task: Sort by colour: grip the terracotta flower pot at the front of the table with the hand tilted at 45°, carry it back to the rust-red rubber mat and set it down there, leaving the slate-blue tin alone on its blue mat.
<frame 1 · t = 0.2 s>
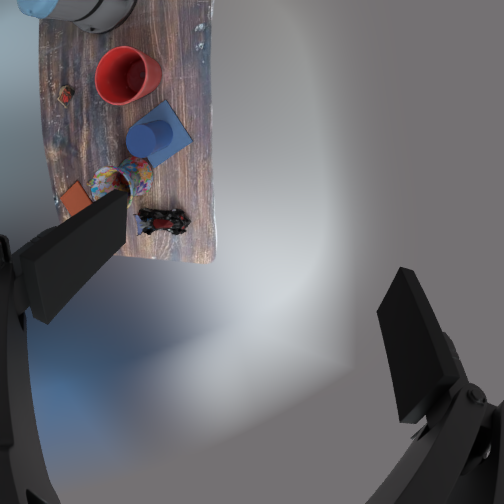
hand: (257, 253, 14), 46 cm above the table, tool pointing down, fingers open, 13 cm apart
blue tin: (159, 134, 57), resting on blue mat
toy car: (165, 219, 66), on the table
rust mat: (77, 202, 68), on the table
blue mat: (159, 134, 58), on the table
flower pot: (145, 75, 52), on the table
mug: (131, 174, 63), on the table
matchbox: (66, 95, 55), on the table
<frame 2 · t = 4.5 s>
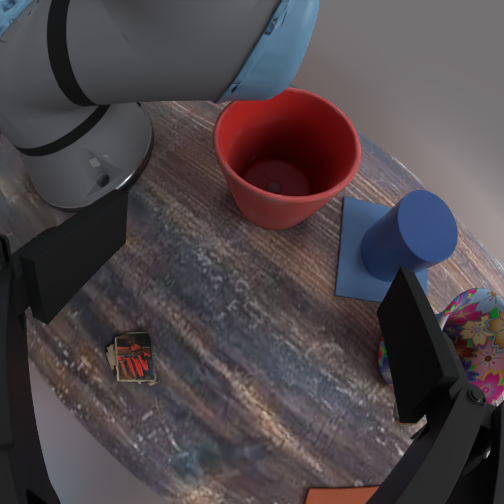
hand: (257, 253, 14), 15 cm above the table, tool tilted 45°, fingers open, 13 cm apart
blue tin: (387, 252, 30), resting on blue mat
blue mat: (385, 253, 30), on the table
flower pot: (274, 193, 31), on the table
mug: (401, 362, 27), on the table
matchbox: (132, 358, 26), on the table
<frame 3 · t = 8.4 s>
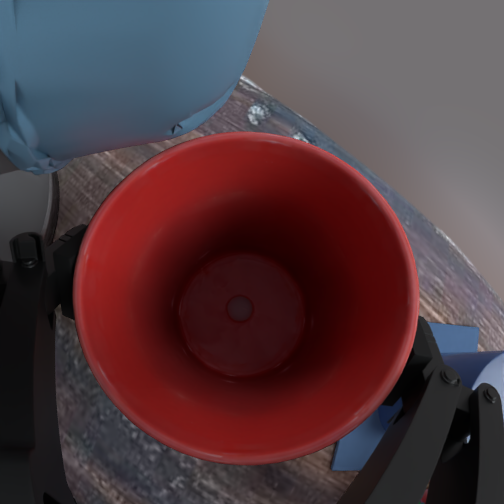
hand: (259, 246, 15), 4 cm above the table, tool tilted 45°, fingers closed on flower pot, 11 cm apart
blue tin: (418, 397, 17), resting on blue mat
blue mat: (415, 397, 17), on the table
flower pot: (241, 313, 18), on the table, touching gripper
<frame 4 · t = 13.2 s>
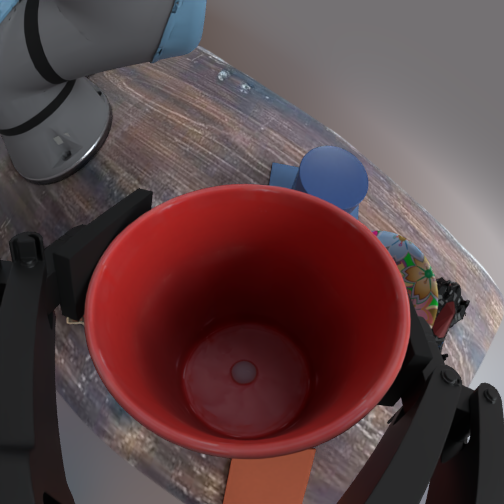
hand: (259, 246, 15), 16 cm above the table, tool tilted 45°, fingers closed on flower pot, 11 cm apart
blue tin: (313, 211, 33), resting on blue mat
toy car: (429, 324, 31), on the table
rust mat: (268, 478, 26), on the table
blue mat: (312, 213, 33), on the table
flower pot: (245, 380, 17), point 12 cm above the table, touching gripper
mug: (329, 318, 31), on the table
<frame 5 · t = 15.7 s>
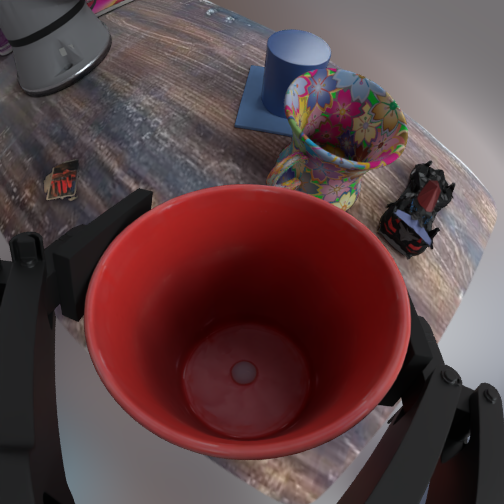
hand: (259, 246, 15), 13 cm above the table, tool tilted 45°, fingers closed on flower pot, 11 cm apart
blue tin: (288, 99, 32), resting on blue mat
toy car: (416, 207, 30), on the table
blue mat: (287, 101, 33), on the table
smartphone: (85, 13, 37), on the table
flower pot: (246, 381, 17), point 8 cm above the table, touching gripper
mug: (306, 187, 30), on the table
matchbox: (62, 182, 29), on the table
pill bottle: (12, 47, 36), on the table
when the fingers open (6 cm above the table, at t = 18.0 s): flower pot drops 2 cm, resting on rust mat.
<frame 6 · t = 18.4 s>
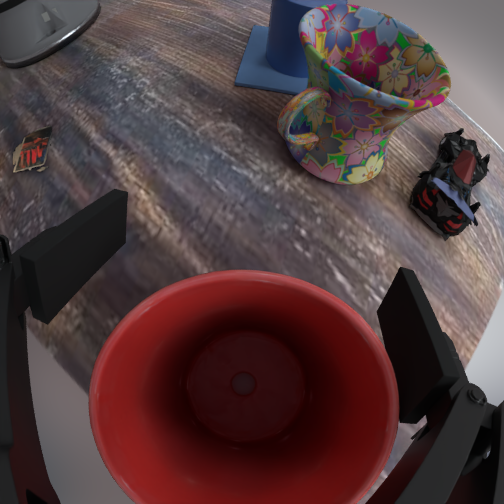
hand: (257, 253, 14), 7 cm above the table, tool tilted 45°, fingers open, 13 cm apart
blue tin: (296, 58, 26), resting on blue mat
toy car: (448, 181, 24), on the table
blue mat: (296, 61, 27), on the table
flower pot: (245, 384, 19), resting on rust mat, touching gripper
mug: (322, 152, 24), on the table
matchbox: (33, 152, 23), on the table
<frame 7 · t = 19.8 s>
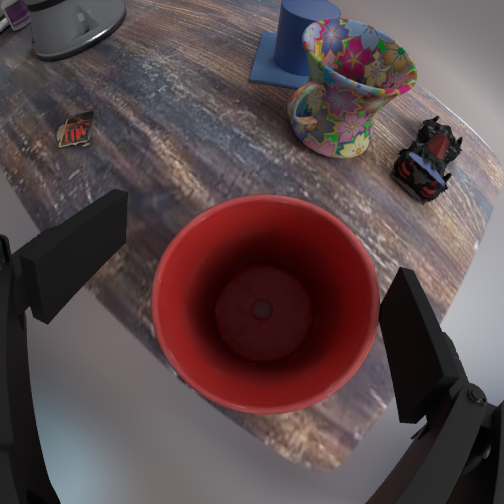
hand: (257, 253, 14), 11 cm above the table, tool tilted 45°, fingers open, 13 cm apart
blue tin: (299, 59, 32), resting on blue mat
toy car: (426, 159, 30), on the table
blue mat: (299, 62, 32), on the table
flower pot: (263, 312, 24), point 1 cm above the table, touching gripper, rust mat
mug: (320, 134, 29), on the table
matchbox: (76, 132, 28), on the table
marker: (10, 24, 36), on the table
pill bottle: (24, 23, 36), on the table
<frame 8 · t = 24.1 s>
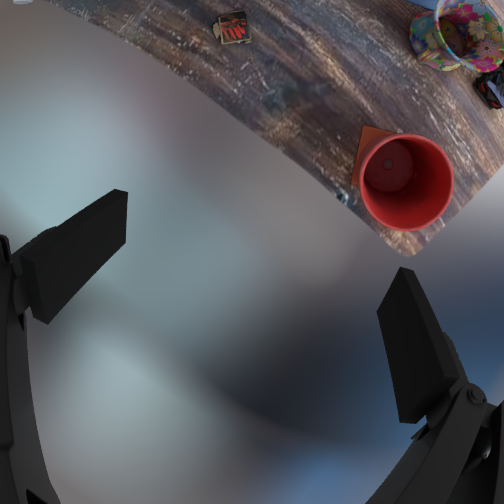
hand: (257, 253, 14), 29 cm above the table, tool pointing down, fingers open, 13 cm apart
toy car: (500, 74, 28), on the table
rust mat: (385, 161, 38), on the table
flower pot: (386, 163, 38), resting on rust mat
mug: (429, 46, 29), on the table
matchbox: (232, 28, 33), on the table
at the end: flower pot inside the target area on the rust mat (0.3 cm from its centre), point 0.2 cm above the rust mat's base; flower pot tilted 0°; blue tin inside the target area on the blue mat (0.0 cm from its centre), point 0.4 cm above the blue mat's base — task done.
